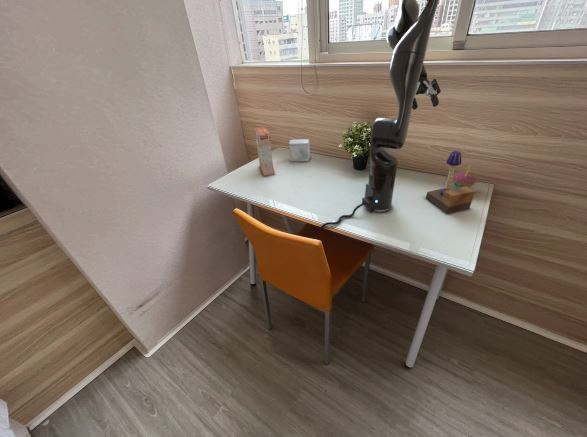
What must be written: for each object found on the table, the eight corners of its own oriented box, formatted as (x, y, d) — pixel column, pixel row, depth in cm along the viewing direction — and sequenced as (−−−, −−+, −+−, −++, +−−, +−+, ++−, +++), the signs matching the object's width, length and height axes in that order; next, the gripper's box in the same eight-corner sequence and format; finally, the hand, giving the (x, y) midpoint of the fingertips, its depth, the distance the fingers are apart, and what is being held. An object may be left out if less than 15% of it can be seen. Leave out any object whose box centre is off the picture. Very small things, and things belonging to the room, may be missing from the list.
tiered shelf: (446, 213, 98) (451, 196, 94) (425, 198, 108) (429, 181, 104) (469, 208, 100) (475, 191, 96) (446, 194, 110) (451, 177, 105)
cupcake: (475, 194, 107) (485, 166, 100) (452, 194, 109) (460, 166, 102) (468, 184, 114) (477, 157, 107) (446, 184, 116) (453, 157, 109)
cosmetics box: (290, 161, 150) (288, 143, 144) (292, 157, 155) (290, 139, 149) (308, 161, 148) (307, 142, 142) (310, 157, 153) (309, 138, 147)
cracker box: (275, 174, 137) (269, 133, 125) (263, 176, 136) (256, 135, 125) (270, 164, 149) (265, 125, 137) (259, 166, 148) (253, 127, 136)
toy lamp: (446, 198, 102) (458, 155, 92) (435, 193, 105) (446, 151, 96) (455, 194, 103) (467, 152, 94) (444, 189, 107) (455, 148, 97)
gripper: (401, 64, 99) (414, 103, 96) (435, 60, 101) (449, 98, 99) (391, 78, 107) (403, 115, 104) (424, 74, 109) (436, 110, 106)
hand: (426, 107), depth 101 cm, fingers open, 8 cm apart
